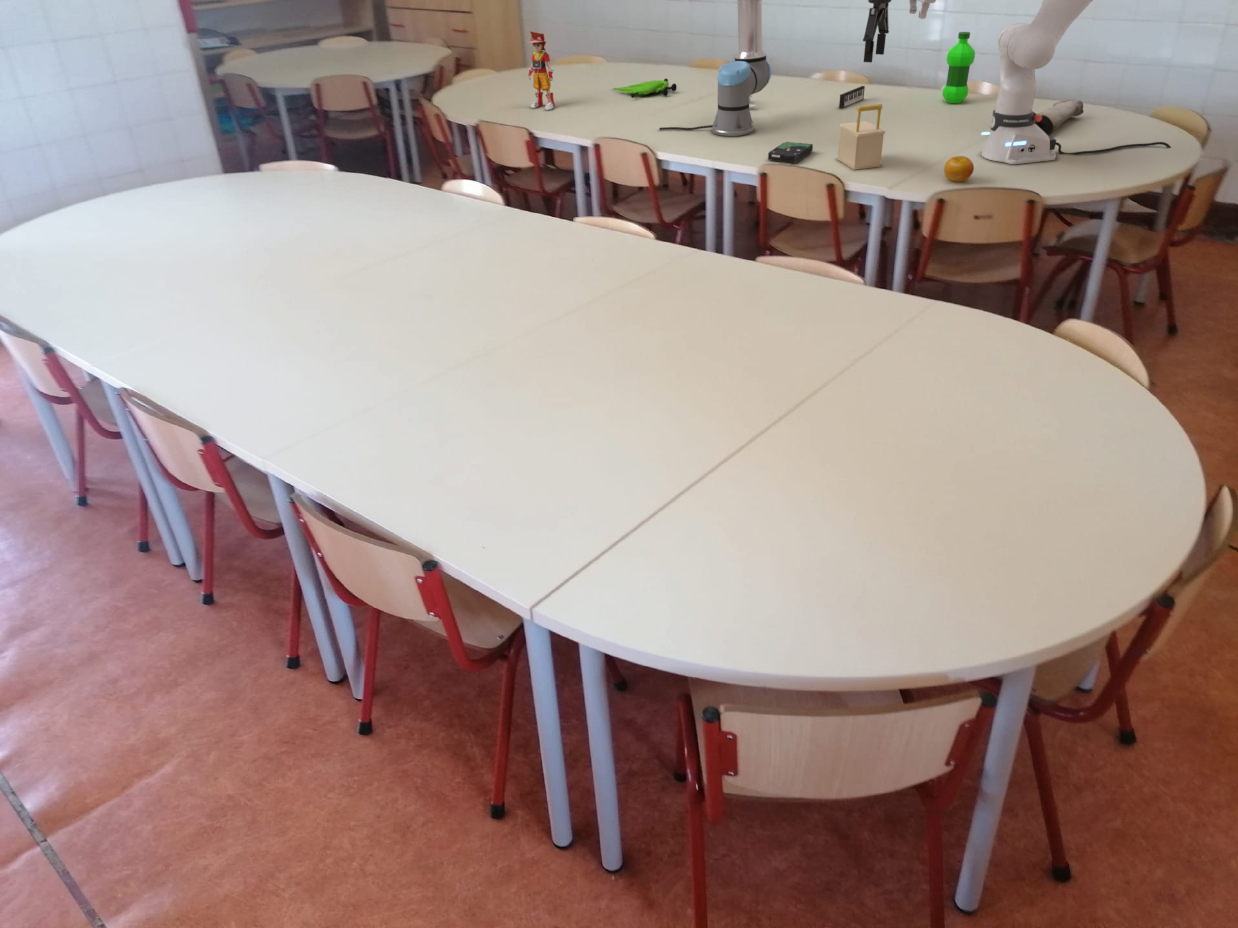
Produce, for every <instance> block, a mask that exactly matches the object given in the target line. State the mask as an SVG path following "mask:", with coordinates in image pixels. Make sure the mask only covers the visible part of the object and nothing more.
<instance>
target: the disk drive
mask: <svg viewBox="0 0 1238 928" xmlns="http://www.w3.org/2000/svg"><path fill="white" fill-rule="evenodd" d="M813 148H814V144H813V143H806V142H805V143H804V142H793V141H792V142H791V141H785V142H783V143H781V144H780V145H778V146H777V147H774V148H773V149H772V150H769V151H768V152H767V154H768V155H767V159H768V160H769V161H776V162H781V163H782V162H783V163H790V164H791V163H793V164H795V163H798V162H799V161H800V160H802V159H804V158H805V157H806V156H808V155H810V154H811V153H812V152H813Z"/></svg>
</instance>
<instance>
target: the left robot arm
mask: <svg viewBox="0 0 1238 928" xmlns="http://www.w3.org/2000/svg"><path fill="white" fill-rule="evenodd" d="M867 1H868V3H869V4H873V5H872V7H870V8H869V10H868V17H867V22H866V27H865V31H864V35H863V38H862V42H865V43H864V53H863V63H873V57H874V46H875V55H881V56H883V55H885V49H886V48H885V46H886V36H887V34H889V32H890V30H889V4H890V3H891V2H892V0H867ZM762 6H763V4H762V0H737V27H738V28H737V34H738V35H737V36H738V51H737V53H736V54H735V55H734V60H733V61H730V62H726V63H723V64H722V65H720V67H719V68H718V70H717V71H718V72H717V74H718V75H717V111H716V114H715V118H714V120H713V124H710V125H700V126H695V127H694V126H693V127H683V126H682V127H681V126H678V127H677V126H668V127H659V130H660V131H664V130H665V131H666V130H681V131H693V130H700V129H709V128H712V133H713V134H715V135H717V136H721V137H741V136H746V135H750V134H752V133H754V127H755V126H754V125H755V123H754V120H753V118H752V115H751V111H750V108H749V103H750V102H749V96H750V95H751V96H752V95H754V94H757V93H760V92H761V91H762V90H763V89H764V88H766V87H767V86H768V84H769V83H770V80H771V77H772V68H771V65H770V63H769V62H768V61H767V53H766V52H765V50H763V18H762V17H763V15H762V12H763V9H762ZM877 30H878V33H877V36H876V32H877ZM875 36H876V37H877V39H876V45H875V41H874V39H875Z"/></svg>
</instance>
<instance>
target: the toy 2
mask: <svg viewBox="0 0 1238 928" xmlns="http://www.w3.org/2000/svg"><path fill="white" fill-rule="evenodd" d="M669 85H670V83H669V79H668V78H664V79H663V80H649V81H644V82H640V83H634V84H629V85H627V86H621V87H613V88H612V89H613V90H616V91H619V92H623V93H627V94H628V93H629V94H631V95H630V96H631V98H632V99H634V98H636V96H637V95H650V94H652V93H654V94H658V93H662V95H663V96H665V97H667V96H668V95H669V90H671V91H672V92H676V91H677V84H676V83H672V84H671V86H669Z"/></svg>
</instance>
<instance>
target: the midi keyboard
mask: <svg viewBox="0 0 1238 928" xmlns="http://www.w3.org/2000/svg"><path fill="white" fill-rule="evenodd" d="M865 89H866V86H865V85H861V86H859V87H858V86H857V87H856V88H854V89H851V90H849V91H846V92H844V93H841V94H840V95H839V102H838V103H839V105H838V108H839V109H844V108H845V107H847V106H850V105H852V104H854V103H858V102H859V101H862V100H864V99H865Z"/></svg>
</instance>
